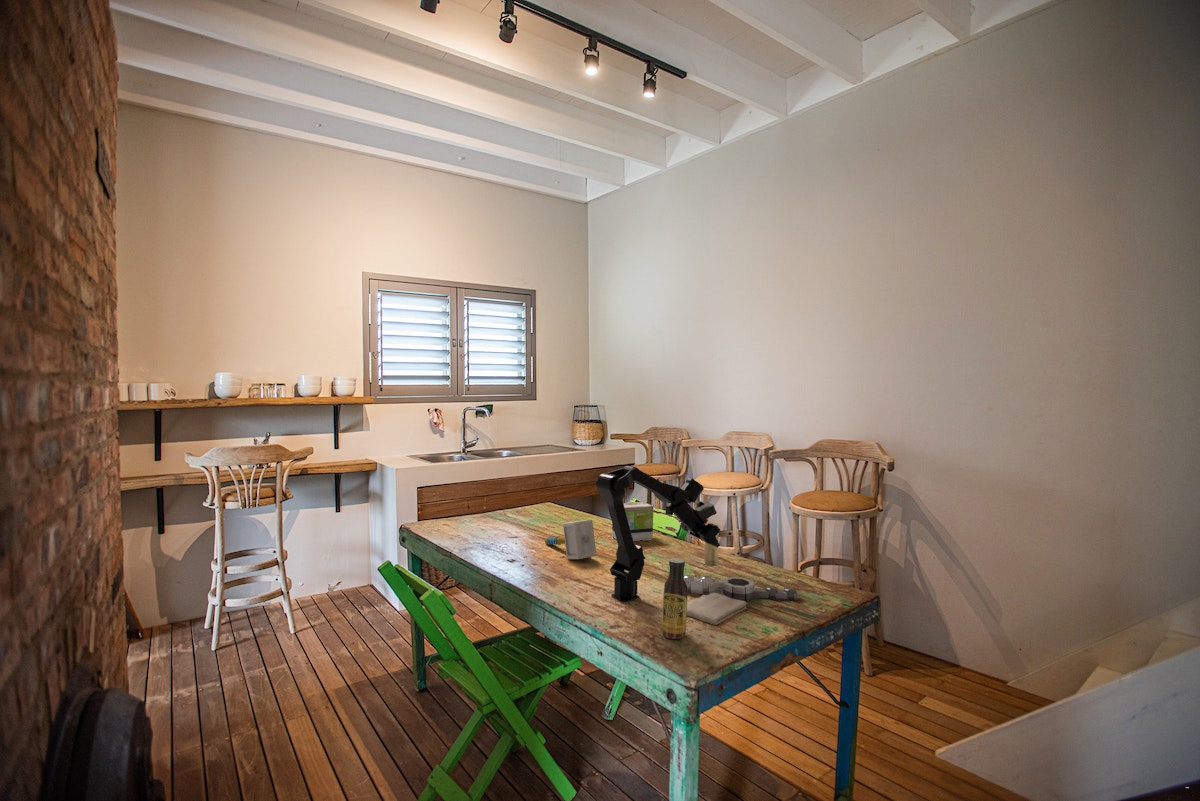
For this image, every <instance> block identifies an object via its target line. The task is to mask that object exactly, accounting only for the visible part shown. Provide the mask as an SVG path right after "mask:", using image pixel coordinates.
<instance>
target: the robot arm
mask: <svg viewBox="0 0 1200 801" xmlns="http://www.w3.org/2000/svg"><path fill="white" fill-rule="evenodd" d="M633 483H635V484H637V485H639V486H640V487H643V488H644V489H646V490H648V491H650V492H651V493H652V494H653V495H654V497H656V498H657V499H658V500H659V501H661V502H663V503H668V504H669V505H668V506H665V513H664V514H665V515H667V516H671V515H674V516H676V518H678V519H679V522H680V523H681V524H680V528H681V529H682V530H683V531H684V532H686V533H688V532H689V535H691V536H693V537H695V538H697V539H700V541H702V542H703V543H705V542H706V543H707V544H711V545H713V546H715V547H718V548H719V547H720V546H721V545H720V542H719V540H717V538H716V535H717V534H718V533H719V534H720V532H721V528H720V527H718V526H719V525H718V524H714V523H713V522H712V523H711V522H710V523H707V522H708V521H709V520H708V519H709V518H711V517H712V516H715V515H716V514H717V513H718V512H717V510H716V507H715V505H714V503H710V502H703V501H701V500H699V501H697V500H698V498H699V497H700V495H701V494H702V493H703V491H704V490H705V487H704V486H703V484H701V483H700V482H698V481H697V480H695V479H694V478H693V477H687V478H686V481H685V482H684V483H683V485H682V486H681V487H679V486H676V485H672V484H668V483H664V482H662V481H660V480H658V479H657V478H654V477H653V476H651V475H650V474H648V473H646V472H645V471H642V470H640V469H639V468H638V467H636V466H631V465H626V466H623V467H621V468H619V469H618V468H617V469H615V470H612V471H609V472H603V473H601V474H600V475H599V476H598V478H597V479H596V481H595V486H596V489H597V491H598V493H599V495H600V497H601V498H602V500H603V501H604V502H605V503H606V505H607V508H608V513H609V517H610V521H611V525H612V524H613V528H614V532H615V536H616V539H617V540H616V539H615V540H616V543H617V549H616V552H615V558H616V560H615V561H614V562H613V563H612V565H611V567H610V569H609V572H610V574H611V576H614V579H613V580H614V592H613V593H611V597H613V598H614V599H616V600H618V601H620V602H622V603H625V602H629V601H632V600H637V598H638V599H640V597H641V596H640V595H638V581H639V580H641V577H642V572H643V570H644V567H645V560H646V557H645V555H644V550H643V547H642V546H641V545H637V544H635V541H633V538H632V534H631V530H630V527H629V523H628V519H627V515H626V511H625V508H624V504H623V503H624V498H625V494H626V488H629V487H630V486H631V485H632V484H633ZM691 503H692V504H694V503H696V507H695V508H693V507H692V506H691V505H690V504H691ZM717 525H718V526H717Z"/></svg>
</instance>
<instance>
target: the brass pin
mask: <svg viewBox="0 0 1200 801" xmlns="http://www.w3.org/2000/svg"><path fill="white" fill-rule="evenodd" d="M716 525H717V526H718V527H719V525H718V524H716ZM719 528H720V527H719ZM719 535H720V532H719V533H718V534H717V535H716V538H717V540H718V541H720V540H719ZM704 565H705V566H709V567H717V566H718V565H719V547H715V546H713V545H711V544H707V543H706V542H704Z"/></svg>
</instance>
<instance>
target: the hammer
mask: <svg viewBox="0 0 1200 801" xmlns="http://www.w3.org/2000/svg"><path fill="white" fill-rule="evenodd" d="M562 528H563V536H560V535H558V536H549V537H546V538H545V540H544V543H545V545H549V546H553V545H559V546H560V545H563V544H564V546H565V554H566V559H567V560H582V559H588V558H592V557H597V554H598V553H597V546H596V539H595V531H594V524H593V519H584V520H583V519H582V520H575V521H569V522H563V523H562Z"/></svg>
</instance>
